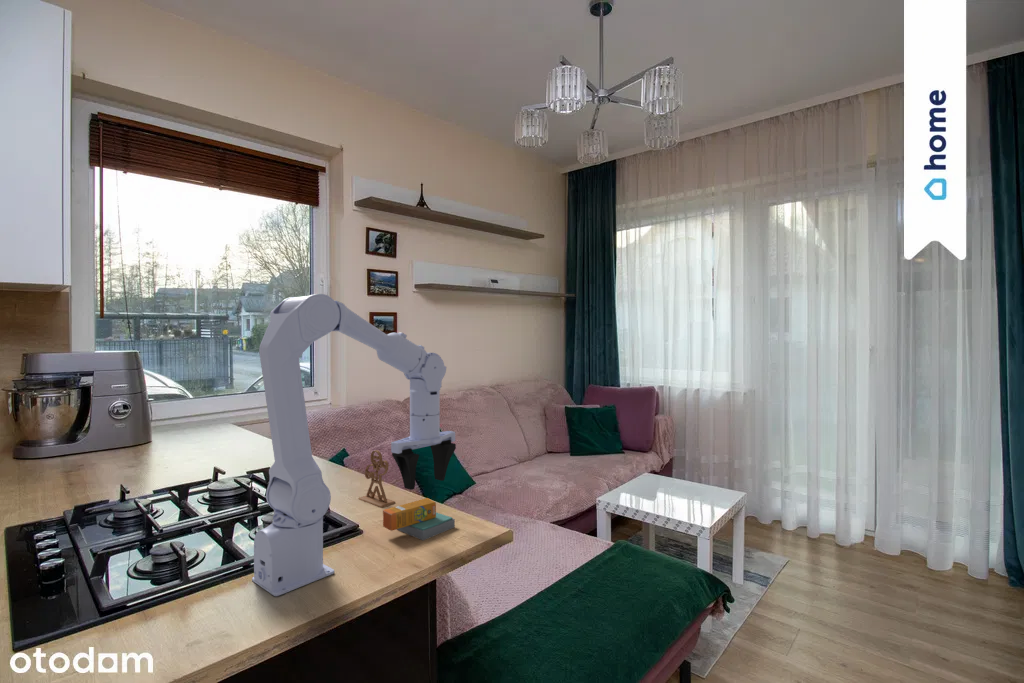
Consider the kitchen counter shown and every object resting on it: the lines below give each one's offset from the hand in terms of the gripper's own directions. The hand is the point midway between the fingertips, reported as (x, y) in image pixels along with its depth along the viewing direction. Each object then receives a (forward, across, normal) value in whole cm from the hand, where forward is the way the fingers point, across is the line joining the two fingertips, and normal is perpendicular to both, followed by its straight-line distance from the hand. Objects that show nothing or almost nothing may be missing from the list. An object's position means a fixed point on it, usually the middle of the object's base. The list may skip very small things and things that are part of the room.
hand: (425, 483), depth 97 cm
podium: (+9, 0, 0) cm, 9 cm away
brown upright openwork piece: (+9, +3, +20) cm, 22 cm away
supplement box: (+5, -8, +1) cm, 10 cm away
